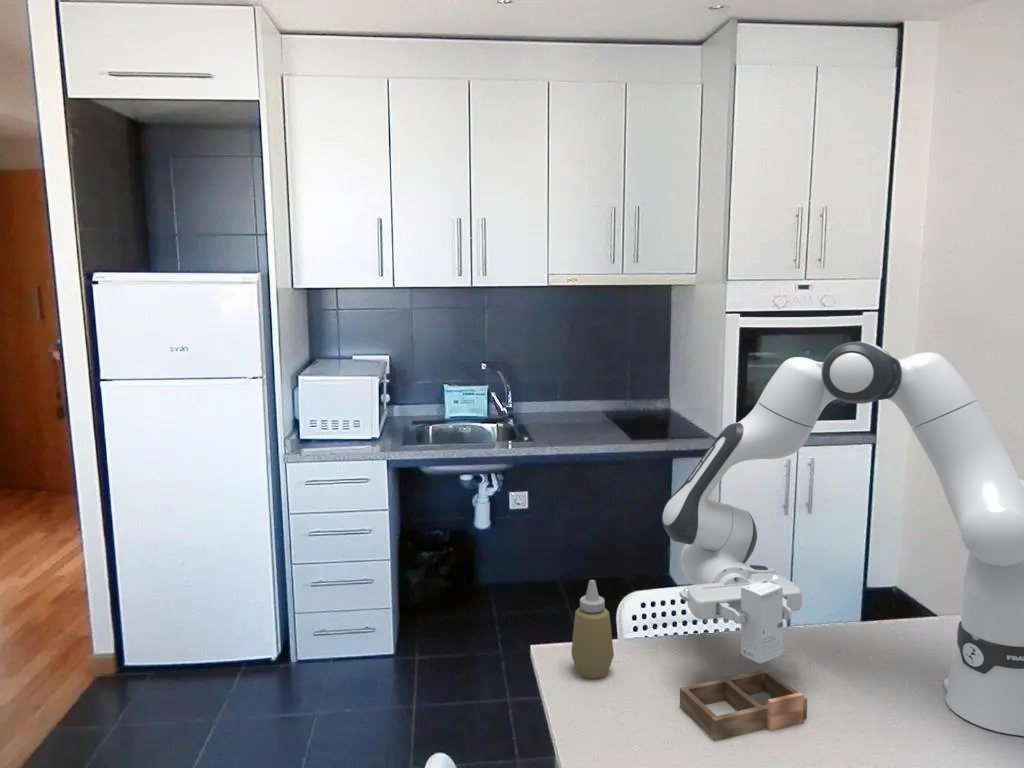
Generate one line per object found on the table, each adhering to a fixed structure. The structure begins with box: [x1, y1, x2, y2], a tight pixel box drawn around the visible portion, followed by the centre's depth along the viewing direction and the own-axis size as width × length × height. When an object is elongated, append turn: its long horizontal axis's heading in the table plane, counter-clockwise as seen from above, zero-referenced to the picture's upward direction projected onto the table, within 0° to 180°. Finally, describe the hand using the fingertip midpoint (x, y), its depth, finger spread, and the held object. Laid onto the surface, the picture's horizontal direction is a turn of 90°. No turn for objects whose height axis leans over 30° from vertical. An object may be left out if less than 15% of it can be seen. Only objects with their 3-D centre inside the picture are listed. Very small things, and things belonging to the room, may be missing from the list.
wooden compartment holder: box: [679, 668, 808, 742], centre depth 124 cm, size 18×11×5 cm, turn 109°
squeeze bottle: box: [571, 579, 615, 679], centre depth 139 cm, size 8×8×18 cm
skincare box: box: [740, 580, 784, 664], centre depth 125 cm, size 6×4×12 cm
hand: (764, 617), depth 124 cm, fingers closed on skincare box, 7 cm apart
